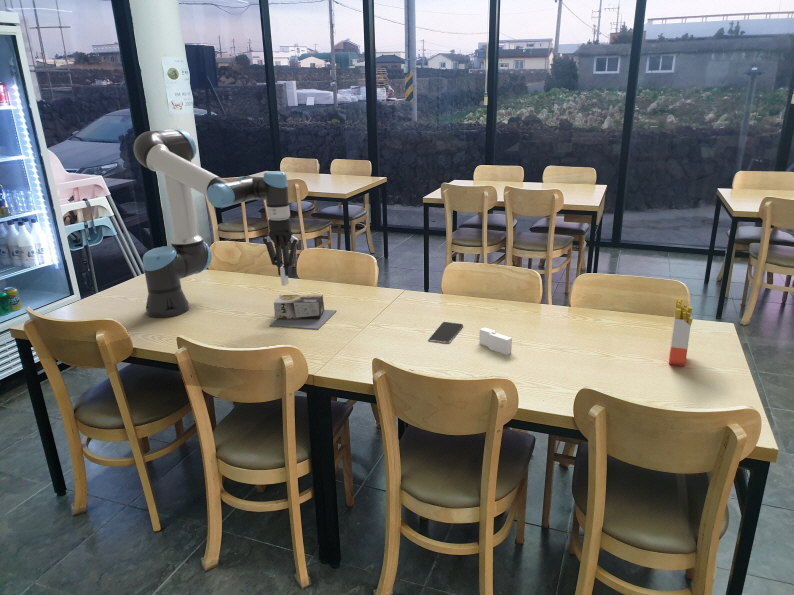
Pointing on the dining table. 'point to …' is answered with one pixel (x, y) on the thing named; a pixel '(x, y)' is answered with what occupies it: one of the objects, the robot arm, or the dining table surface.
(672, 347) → the french fries container
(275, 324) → the rubber mat
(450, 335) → the smartphone
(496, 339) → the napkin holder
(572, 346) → the dining table surface
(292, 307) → the coffee box
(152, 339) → the dining table surface
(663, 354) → the dining table surface
